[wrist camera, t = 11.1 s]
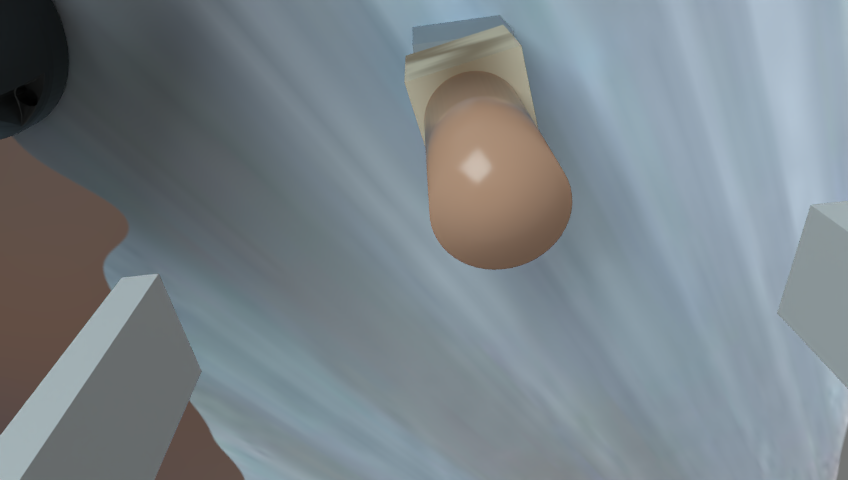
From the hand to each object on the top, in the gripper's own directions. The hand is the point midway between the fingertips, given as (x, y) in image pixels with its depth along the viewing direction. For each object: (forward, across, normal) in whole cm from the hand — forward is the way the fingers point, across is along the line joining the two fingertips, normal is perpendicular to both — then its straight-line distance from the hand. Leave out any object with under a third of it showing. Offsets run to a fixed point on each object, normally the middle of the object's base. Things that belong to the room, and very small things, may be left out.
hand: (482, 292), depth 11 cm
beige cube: (+24, +2, -3) cm, 24 cm away
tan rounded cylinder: (+18, +2, -3) cm, 18 cm away
